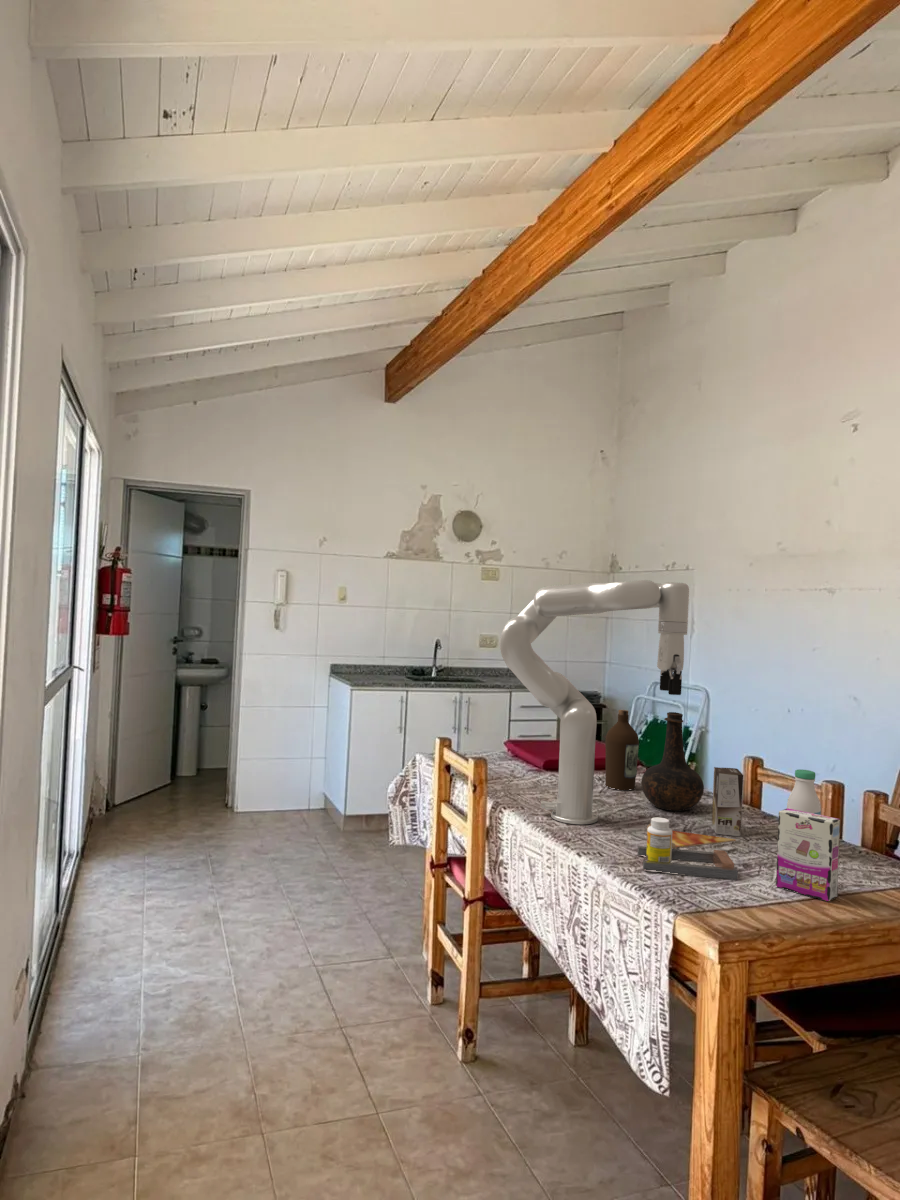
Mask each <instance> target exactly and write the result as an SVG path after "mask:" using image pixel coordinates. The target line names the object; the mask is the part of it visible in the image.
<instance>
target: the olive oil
mask: <svg viewBox="0 0 900 1200" xmlns="http://www.w3.org/2000/svg"><path fill="white" fill-rule="evenodd" d="M639 746H640V740H639V736H638V733H637V732H636V730H635V728H633V726H632V724H630V722H629V710H627V709H619V710H618V714H617V722H616V723H615V724H614V725H613V726H612V727H611V728H610V729H608V731H607V732H606V735H605V746H604V747H605V782H604V783H605V785H606V786H608V787H611V788H615V789H619V790H618V791H622V790H629V789H634V788H636V777H637V776H638V775H637V773H638V770H637V767H638V756H639V755H638V754H639V748H640V747H639ZM606 786H605V787H606ZM634 790H635V789H634ZM629 791H630V790H629Z"/></svg>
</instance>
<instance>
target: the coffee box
mask: <svg viewBox="0 0 900 1200" xmlns="http://www.w3.org/2000/svg"><path fill="white" fill-rule="evenodd" d="M744 776H745V775H744V774H743V773H742V772H741V771H740V770H739V769H738V768H734V767H716V766H714V767H713V780H712V781H713V782H712V783H713V785H712V814H711V827H712V828H713V830H714V833H716V835H722V836H723V835H724V836H733V837H741V831H742V829H741V827H742V808H743V790H744Z"/></svg>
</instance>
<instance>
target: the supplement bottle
mask: <svg viewBox="0 0 900 1200" xmlns="http://www.w3.org/2000/svg"><path fill="white" fill-rule="evenodd" d="M650 823H651V826H649V827H648V829H647V828H646V847H647V853H646V857H645V858H646V859H645V861H656V862H668V863H672V859H671V856H672V830H673V829H671V828H670V820H669V818H664V817H657V816H656V817H651V819H650Z"/></svg>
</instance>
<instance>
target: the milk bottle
mask: <svg viewBox="0 0 900 1200" xmlns="http://www.w3.org/2000/svg"><path fill="white" fill-rule="evenodd" d="M794 776H795V777H794V779H795V781H794V782H795V783H794V786H793V788H792V790H791V792H790V794H789V796H788V798H787V803H786V809H787V808H789V809H794V810H799V811H804V812H808V813H813V814H818V815H822V814H821V802H820V799H819V797H818V793H817V791H816V788H815V782H816V772H815V771H812V770H809V769H796V770H795V771H794Z"/></svg>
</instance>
